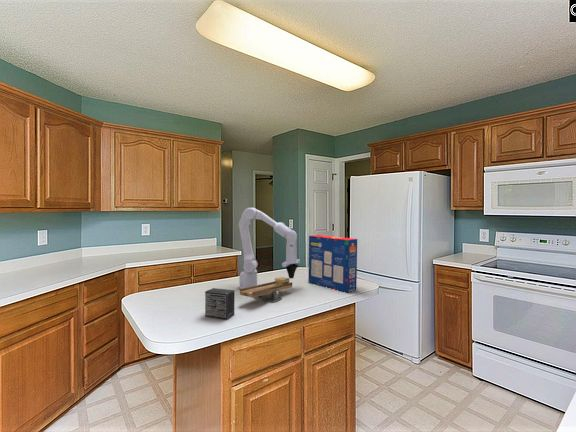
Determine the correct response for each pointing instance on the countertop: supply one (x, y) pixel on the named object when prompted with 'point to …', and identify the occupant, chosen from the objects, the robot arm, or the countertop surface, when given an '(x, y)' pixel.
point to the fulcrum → (270, 297)
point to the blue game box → (333, 262)
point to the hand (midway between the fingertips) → (291, 278)
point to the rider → (281, 280)
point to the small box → (219, 303)
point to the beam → (263, 289)
